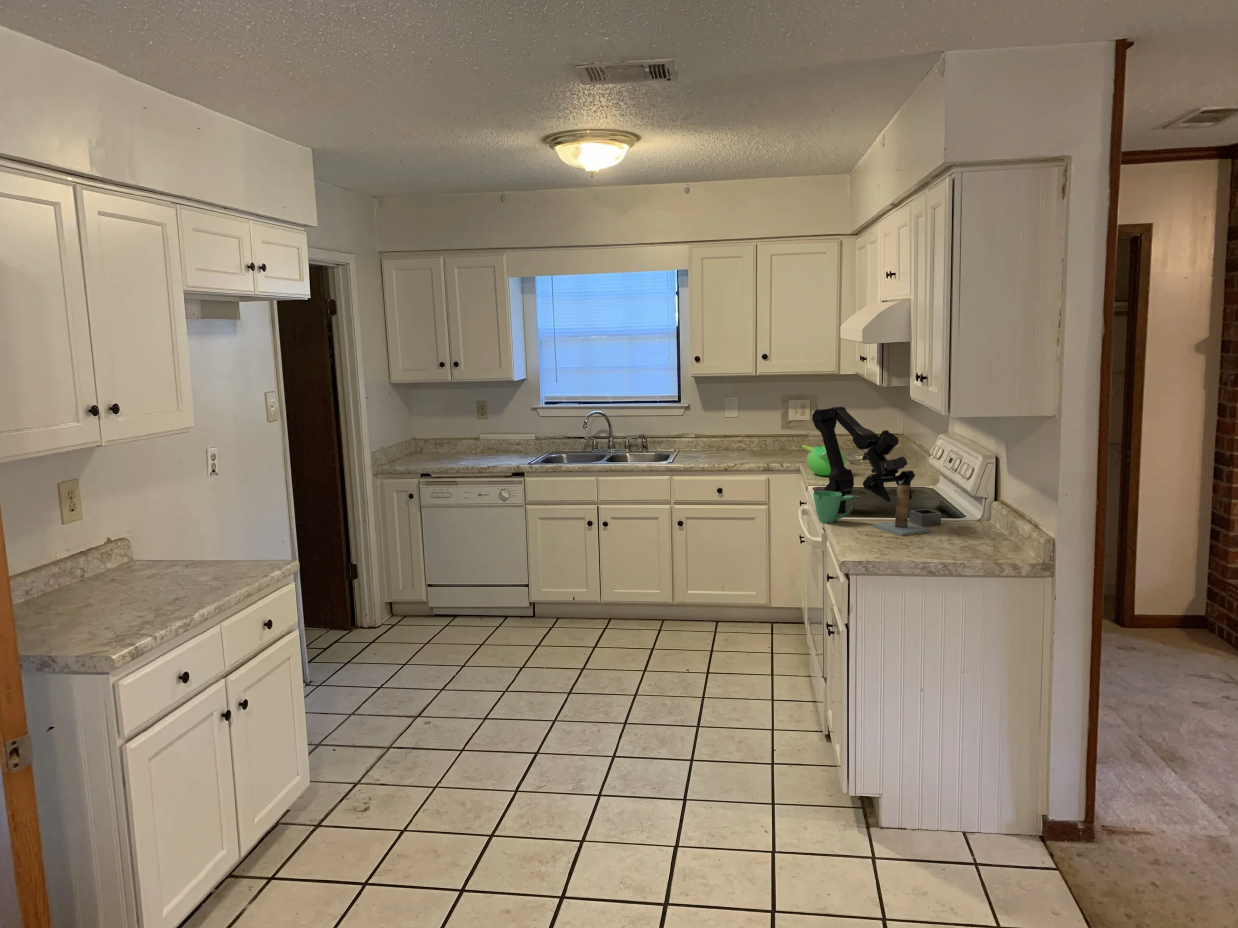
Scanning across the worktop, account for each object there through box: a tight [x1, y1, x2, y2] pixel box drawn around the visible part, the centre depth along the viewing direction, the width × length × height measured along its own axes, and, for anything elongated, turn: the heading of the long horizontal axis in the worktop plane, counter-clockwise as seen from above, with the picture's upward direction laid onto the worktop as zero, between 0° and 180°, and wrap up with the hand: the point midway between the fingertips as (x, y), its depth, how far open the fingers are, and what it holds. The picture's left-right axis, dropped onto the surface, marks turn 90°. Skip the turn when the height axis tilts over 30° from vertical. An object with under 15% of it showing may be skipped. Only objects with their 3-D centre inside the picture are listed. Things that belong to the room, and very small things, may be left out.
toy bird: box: [801, 444, 846, 477], centre depth 401 cm, size 18×17×15 cm
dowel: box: [894, 484, 911, 528], centre depth 297 cm, size 4×4×14 cm
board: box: [872, 520, 931, 537], centre depth 298 cm, size 14×12×1 cm
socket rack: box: [908, 508, 942, 527], centre depth 306 cm, size 8×8×4 cm
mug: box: [812, 490, 857, 524], centre depth 309 cm, size 15×10×10 cm
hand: (900, 500), depth 297 cm, fingers open, 9 cm apart
